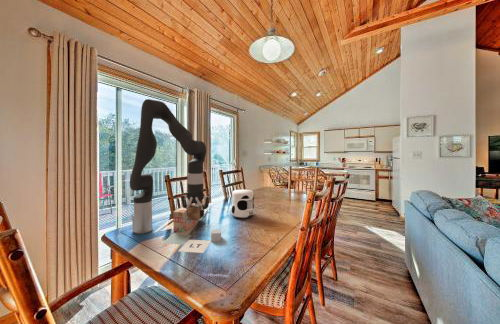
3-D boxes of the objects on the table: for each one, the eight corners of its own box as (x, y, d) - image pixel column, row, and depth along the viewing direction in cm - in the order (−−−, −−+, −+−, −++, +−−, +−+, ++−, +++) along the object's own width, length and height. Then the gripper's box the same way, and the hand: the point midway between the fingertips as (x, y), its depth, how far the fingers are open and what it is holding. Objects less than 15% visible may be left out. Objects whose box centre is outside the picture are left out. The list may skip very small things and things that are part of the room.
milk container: (233, 211, 151) (234, 188, 150) (256, 213, 149) (256, 189, 148) (228, 219, 134) (228, 193, 133) (253, 221, 132) (253, 194, 131)
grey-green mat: (161, 244, 98) (161, 243, 98) (172, 234, 109) (172, 233, 108) (183, 245, 97) (183, 244, 97) (191, 236, 108) (191, 234, 107)
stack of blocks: (191, 219, 133) (191, 201, 133) (199, 220, 132) (199, 202, 132) (173, 232, 112) (173, 211, 112) (183, 233, 111) (183, 212, 111)
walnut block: (187, 219, 92) (187, 207, 92) (192, 216, 98) (192, 204, 97) (198, 220, 92) (199, 208, 91) (202, 216, 97) (203, 204, 97)
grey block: (211, 243, 100) (211, 233, 100) (211, 238, 105) (211, 229, 104) (221, 242, 101) (221, 233, 100) (220, 238, 106) (220, 229, 105)
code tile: (178, 252, 90) (178, 251, 90) (188, 240, 102) (188, 239, 102) (203, 254, 89) (203, 252, 89) (211, 241, 101) (211, 240, 101)
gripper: (177, 183, 91) (177, 218, 92) (207, 184, 89) (207, 220, 90) (184, 180, 98) (184, 213, 99) (212, 181, 97) (212, 215, 98)
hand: (195, 216), depth 95 cm, fingers closed on walnut block, 5 cm apart
